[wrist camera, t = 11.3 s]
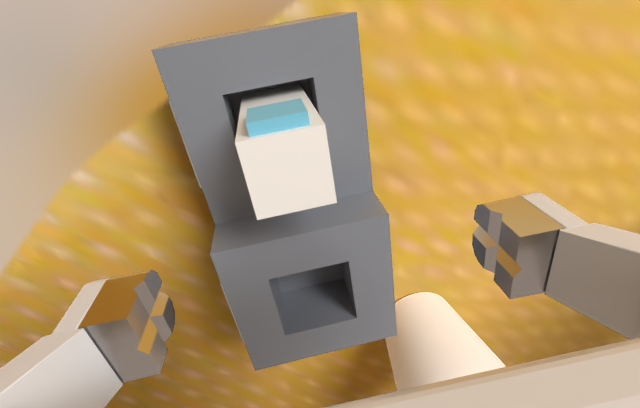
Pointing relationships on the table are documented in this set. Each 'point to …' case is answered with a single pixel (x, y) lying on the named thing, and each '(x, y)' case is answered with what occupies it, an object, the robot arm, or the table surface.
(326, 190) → the plug
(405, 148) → the table surface
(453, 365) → the cup
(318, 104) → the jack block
